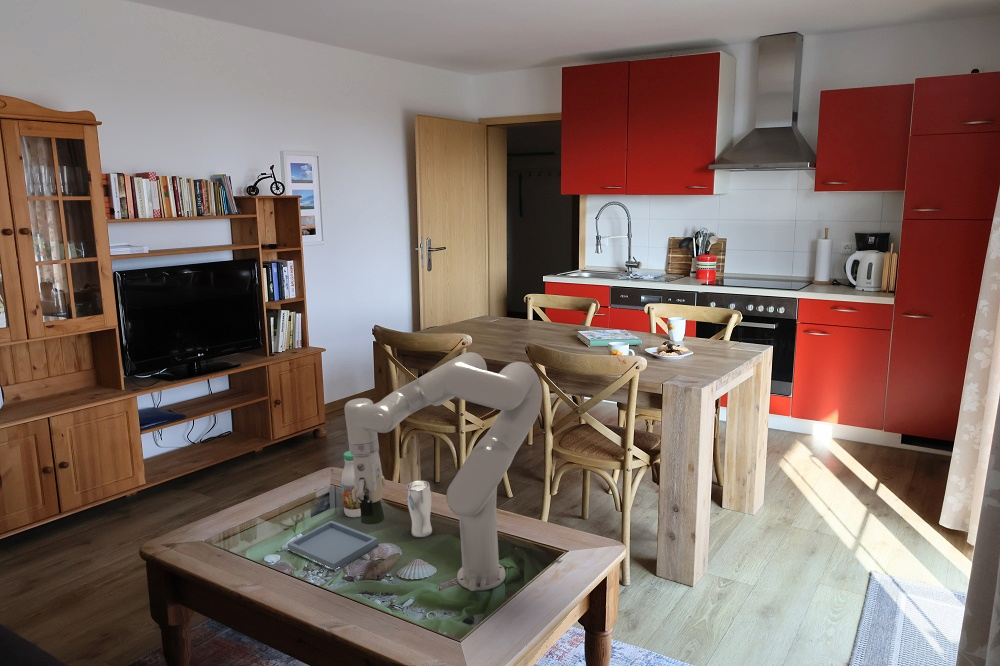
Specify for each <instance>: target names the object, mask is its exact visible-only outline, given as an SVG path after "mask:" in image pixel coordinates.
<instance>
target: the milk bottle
mask: <svg viewBox="0 0 1000 666" xmlns="http://www.w3.org/2000/svg"><path fill="white" fill-rule="evenodd" d="M343 461H344V467H343V470H342V473H341V480H340V483H341V493H342V494H341V495H342V501H343V503H342V504H343V510H344V515H345V516H347V517H349V518H361V510H360V503H359V501H358V500H357V501H353V498H352V490H353V489H355V488H354V486H355V484H354V477H355V475H354V458H353V456H352V455H351V454H350V450H348V451H345V452H344V453H343Z"/></svg>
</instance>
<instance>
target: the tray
mask: <svg viewBox="0 0 1000 666" xmlns="http://www.w3.org/2000/svg"><path fill="white" fill-rule="evenodd" d="M377 547H379V541H378V538H377V537H375V536H372V535H370V534H368V533H365V532H361V531H359V530H357V529H354V528H352V527H350V526H347V525H344V524H341V523H339V522H336V521H334V520H330V521H328V522H327V521H326V523H324V524H322V525H320V526H318V527H316V528H314V529H312V530H311V531H308V532H307V533H305V534H303V535H301V536H299V537H297V538H295V539H293V540H291V541H289V542H288V543H287V550H288V549H290V550H292V551H295V552H297V553H300V554H302V555H305V556H307V557H309V558H311V559H314V560H315V561H317V562H320V563H322V564H324V565H326V566H328V567H330V568H333V569H336V568H338V567H341V566H343V565H345V564H347V565H349V564H351V563H352V562H354V561H356V560H357V559H359V558H360V557H362V556H364V555H366V554H367V553H369V552H370V551H372V550H373V549H375V548H377ZM350 562H351V563H350ZM348 563H349V564H348Z"/></svg>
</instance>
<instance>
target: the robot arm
mask: <svg viewBox="0 0 1000 666" xmlns="http://www.w3.org/2000/svg"><path fill="white" fill-rule="evenodd" d="M541 383H542V382H541V379H540V378H539V375H538V373H537V372H536V371H535V369H534V368H533V367H531V365H530V364H528V363H527V362H523V361H514V362H511V363H509V364H507V365H506V366H505V367H503V368H502V369H501V370H500V372H498V373H496V372H493V371H489V370H488V367H487V363H486V361H485V359H484V358H483V356H482V355H480V354H478V353H477V352H471V351H470V352H464V353H461V354H459V355H458V356H456V357H454V358H452V359H450V360H448V361H447V362H445V363H443V364H441V365H440V366H438V367H436V368H435V369H432V370H430V371H428V372H427V373H425V374H423V375H422V376H420V377H418V378H416V379H414V380H413V381H410V382H408V383H406V384H405V385H403V386H402V387H400V388H397V389H396V390H393V391H392V392H391V393H389V394H388V395H386V396H385V397H383V398H382V399H381V400H380V401H378V402H376V403H374V402H373V400H371V399H370V398H366V397H361V398H360V397H359V398H358V397H357V398H354V399H351V400H349V401H347V402H346V403H345V405H344V415H345V417H344V418H345V424H346V425H345V426H346V431H347V432H346V433H347V440H348V447H349V451H350V454H351V455H352V456H353V458H354V475H355V484H356V489H357V491H358V496H359V503H360V510H361V516H373V514H374V512H373V504H372V501H371V491H372V492H374V491H375V490H376V489H377V482H376V479H377V478H378V476H379V474H381V480H382V476H384V475H383V470H382V469H383V468H382V463H381V457H380V453H379V452H380V446H379V436H378V433H380V434H381V433H382V434H385V433H389V432H391V431H393V430H395V428H396V427H397V426H398V425H399V424H400V423H401V422H403V421H404V420H405V419H407V417H409V416H411V415H412V414H414V413H416V412H417V411H419V410H421V409H423V408H425V407H429V406H430V405H432V406H433V407H434V406H435V407H439V406H442V405H443V404H445V403H447V402H448V401H451V400H453V399H454V398H457V399H461V400H462V401H463V400H464V401H466V402H470V403H473V404H477V405H481V406H484V407H488V408H491V409H493V410H494V409H495V410H500V412H499V413H498V415H497V416H496V418H495V421H494V422H493V423H492V425H491V426H490V428H489V429H488V430H487V432H486V433H485V434H484V436H483V437H482V438H481V439H480V440H479V441H478V442H477V443H476V445H475V446H474V447H473V448H472V451H470V453H469V455H468V456H467V458H466V459H465V460H464V462H463V464H462V465H461V467H460V469H459V470H458V472H457V473H456V475H455V476H454V478H453V479H452V481H451V483H450V484H449V486H448V488H447V490H446V494H445V495H446V496H445V499H446V504H447V506H448V508H449V510H450V511H451V512H452V513H453V514H455V515H456V516H458V517H459V535H460V536H459V537H460V549H461V563H462V566H461V567H460V568H459V570H458V571H457V574H456V580H457V582H458V583H459V585H460V586H462V587H463V588H465V589H467V590H469V591H470V592H475V591H488V590H491V589H494V588H496V587H498V586H500V585H501V584H503V582H504V581H505V580H506V569H505V567H504V566H503V565H501V564H500V561H499V542H498V540H499V539H498V519H497V518H498V517H497V494H498V493H497V492H498V486H499V484H500V482H501V481H502V479H503V478H504V476H505V475H506V473H507V471H508V469H509V468H510V466H511V464H512V462H513V460H514V458H515V455H516V454H517V452H518V450H519V449H520V447H521V446H522V444H523V443H524V441H525V439H526V438H527V436H528V434H529V433H530V431H531V429H532V428H533V426H534V424H535V422H536V420H537V419H538V416H539V414H540V411H541V407H542V402H543V388H542V387H543V386H542V384H541ZM365 483H366V486H367V488H368V490H364V489H365ZM358 488H359V489H358ZM364 493H368V497H367V496H366V495H365V494H364ZM361 516H360V517H361Z"/></svg>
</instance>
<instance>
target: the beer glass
mask: <svg viewBox="0 0 1000 666" xmlns="http://www.w3.org/2000/svg"><path fill="white" fill-rule="evenodd" d="M406 499H407V500H406V501H407V507H408V512H409V515H410V519H411V535H412V536H413V537H416V538H425V537H428V536H430V535H431V534H432V533H433V528H432V525H431V512H432V511H431V509H432V493H431V487H430V483H429V481H427V480H414V481H411V482H409V483H408V484H407V485H406Z"/></svg>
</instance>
